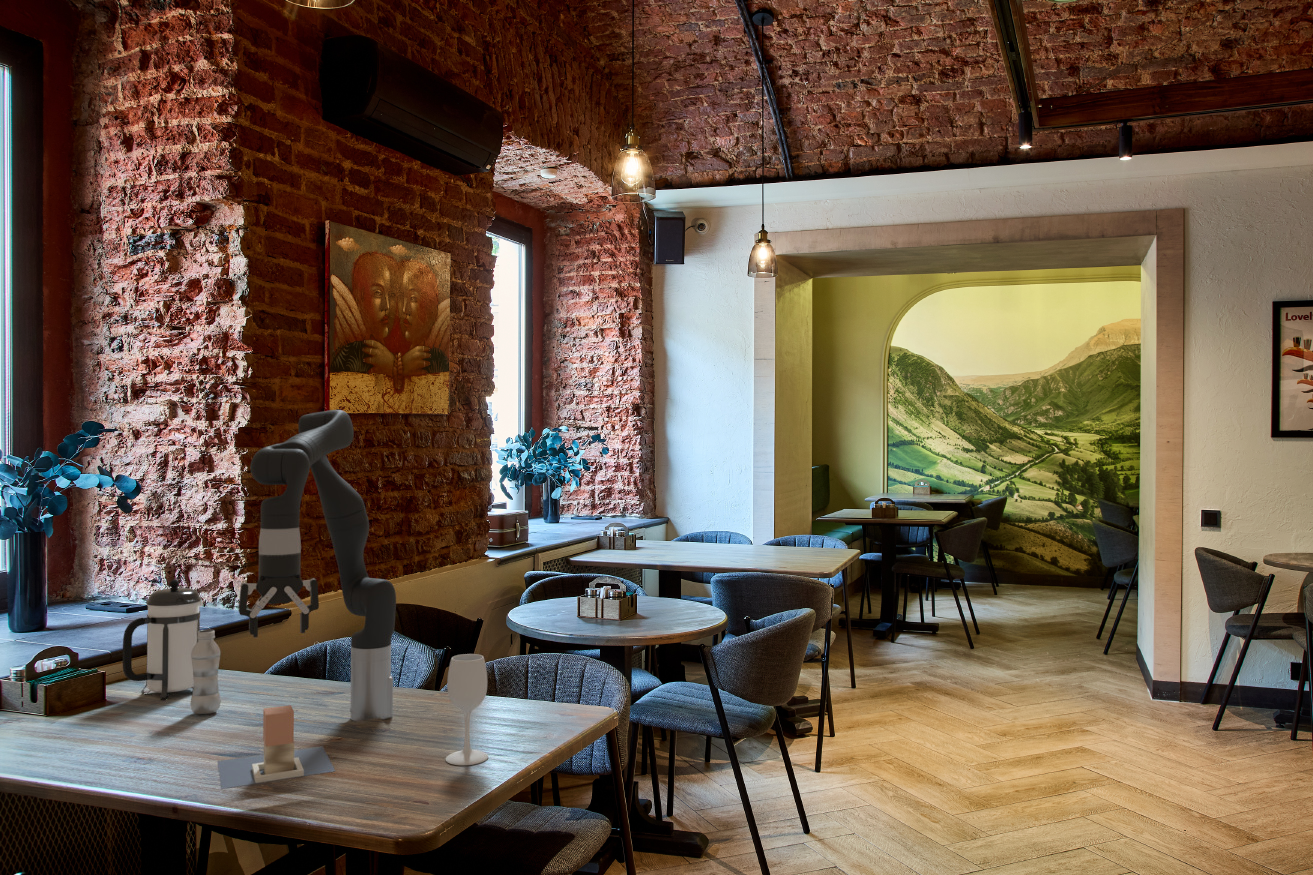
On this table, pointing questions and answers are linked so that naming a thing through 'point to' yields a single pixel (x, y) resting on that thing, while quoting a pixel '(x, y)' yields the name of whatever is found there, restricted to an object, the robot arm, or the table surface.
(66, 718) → the table surface
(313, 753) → the grey board
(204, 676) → the plastic bottle
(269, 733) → the terracotta block
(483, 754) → the wineglass
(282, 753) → the birch block
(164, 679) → the coffee press
